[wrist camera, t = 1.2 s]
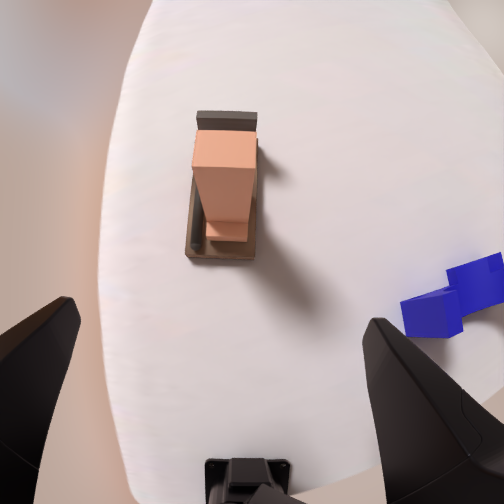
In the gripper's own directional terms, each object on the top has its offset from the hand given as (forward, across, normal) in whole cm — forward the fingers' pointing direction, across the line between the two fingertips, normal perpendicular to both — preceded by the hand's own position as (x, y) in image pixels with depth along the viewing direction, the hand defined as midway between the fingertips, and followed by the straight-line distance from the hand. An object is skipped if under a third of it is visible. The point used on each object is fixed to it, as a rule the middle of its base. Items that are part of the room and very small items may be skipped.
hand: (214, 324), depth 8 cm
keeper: (+14, +1, +3) cm, 14 cm away
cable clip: (+12, -20, +8) cm, 24 cm away
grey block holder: (+16, +1, +2) cm, 17 cm away
